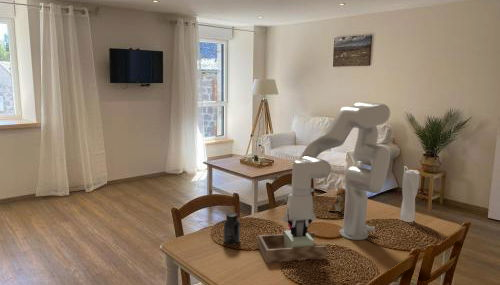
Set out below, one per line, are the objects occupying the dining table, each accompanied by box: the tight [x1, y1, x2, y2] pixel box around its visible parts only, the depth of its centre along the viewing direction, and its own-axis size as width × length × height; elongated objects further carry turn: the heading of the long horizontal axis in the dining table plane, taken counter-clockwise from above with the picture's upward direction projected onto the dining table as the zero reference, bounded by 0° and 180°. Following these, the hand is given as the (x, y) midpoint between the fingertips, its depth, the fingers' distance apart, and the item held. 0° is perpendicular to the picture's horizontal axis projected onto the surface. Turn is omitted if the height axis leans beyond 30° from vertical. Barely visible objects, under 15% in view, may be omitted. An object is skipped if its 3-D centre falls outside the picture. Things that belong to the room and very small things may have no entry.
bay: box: [257, 231, 327, 264], centre depth 150 cm, size 24×14×5 cm, turn 102°
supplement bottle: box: [223, 212, 241, 245], centre depth 159 cm, size 7×7×12 cm
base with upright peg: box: [283, 220, 315, 248], centre depth 150 cm, size 9×11×12 cm
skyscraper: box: [398, 165, 420, 223], centre depth 186 cm, size 8×8×28 cm
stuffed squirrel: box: [327, 187, 346, 215], centre depth 200 cm, size 10×14×13 cm
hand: (298, 234), depth 150 cm, fingers closed on base with upright peg, 3 cm apart
